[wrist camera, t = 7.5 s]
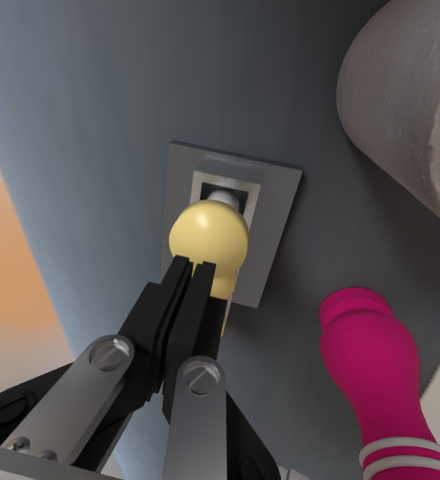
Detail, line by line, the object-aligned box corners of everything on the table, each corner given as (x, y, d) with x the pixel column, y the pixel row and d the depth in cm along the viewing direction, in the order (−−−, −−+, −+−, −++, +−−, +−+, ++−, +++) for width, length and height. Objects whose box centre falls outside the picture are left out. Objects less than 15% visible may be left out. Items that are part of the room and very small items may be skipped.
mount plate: (172, 140, 21) (148, 156, 17) (301, 166, 21) (309, 190, 17) (162, 279, 29) (144, 314, 24) (257, 301, 28) (255, 341, 24)
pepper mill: (382, 272, 24) (643, 727, 7) (401, 327, 27) (624, 751, 10) (302, 295, 27) (358, 670, 10) (327, 343, 30) (404, 702, 13)
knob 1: (198, 168, 18) (171, 202, 13) (259, 181, 18) (255, 220, 13) (191, 222, 20) (166, 269, 15) (245, 235, 20) (238, 285, 15)
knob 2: (198, 213, 23) (179, 250, 18) (246, 224, 22) (240, 264, 18) (193, 253, 25) (174, 296, 20) (237, 263, 25) (229, 309, 20)
